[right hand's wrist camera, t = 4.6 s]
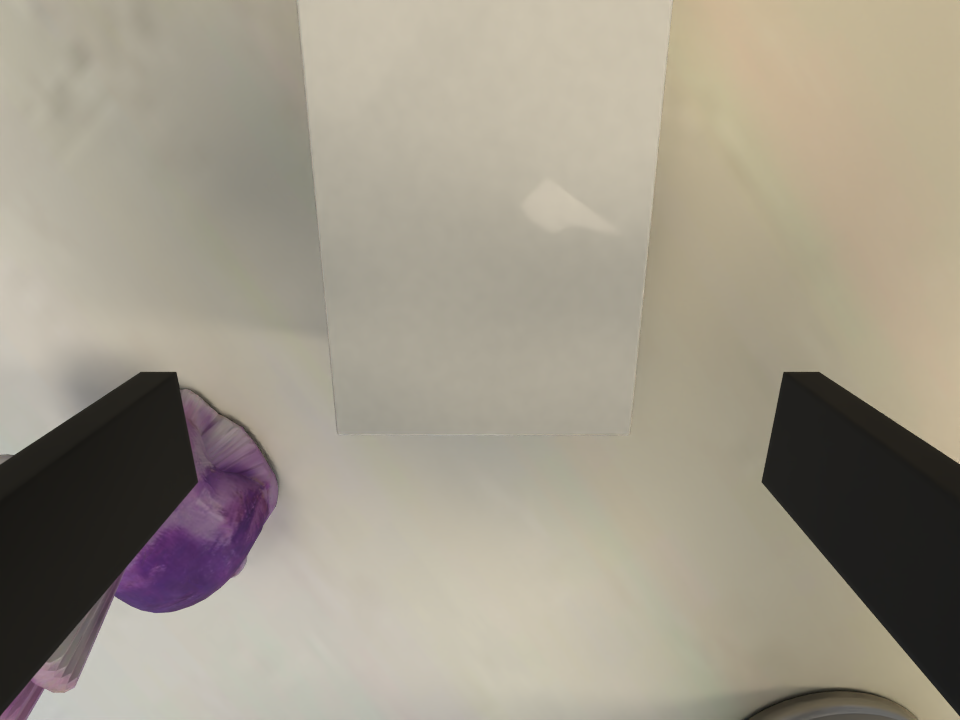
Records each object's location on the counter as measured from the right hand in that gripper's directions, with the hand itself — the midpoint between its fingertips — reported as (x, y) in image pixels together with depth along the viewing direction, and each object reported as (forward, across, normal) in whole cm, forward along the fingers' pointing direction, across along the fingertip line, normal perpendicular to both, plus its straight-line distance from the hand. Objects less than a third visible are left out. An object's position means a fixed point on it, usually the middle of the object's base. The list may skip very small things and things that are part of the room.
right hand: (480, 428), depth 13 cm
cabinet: (+17, 0, -7) cm, 18 cm away
